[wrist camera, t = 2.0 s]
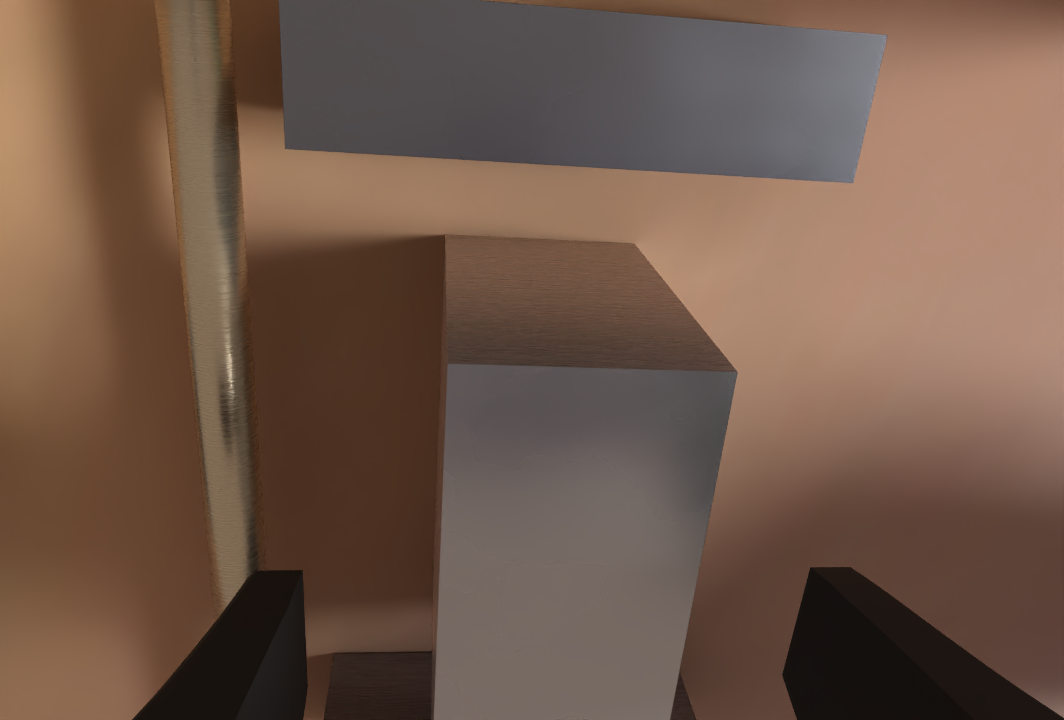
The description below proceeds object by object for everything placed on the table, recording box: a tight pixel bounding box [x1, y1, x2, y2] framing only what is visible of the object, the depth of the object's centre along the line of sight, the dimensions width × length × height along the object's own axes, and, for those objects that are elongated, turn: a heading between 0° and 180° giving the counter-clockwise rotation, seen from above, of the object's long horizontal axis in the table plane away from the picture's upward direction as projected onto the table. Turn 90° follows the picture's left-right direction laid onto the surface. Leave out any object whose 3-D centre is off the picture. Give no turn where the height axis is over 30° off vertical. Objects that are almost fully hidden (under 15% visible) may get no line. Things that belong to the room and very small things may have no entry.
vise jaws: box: [154, 0, 887, 720], centre depth 15 cm, size 10×16×4 cm, turn 175°
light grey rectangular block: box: [431, 235, 737, 720], centre depth 14 cm, size 4×8×6 cm, turn 175°
